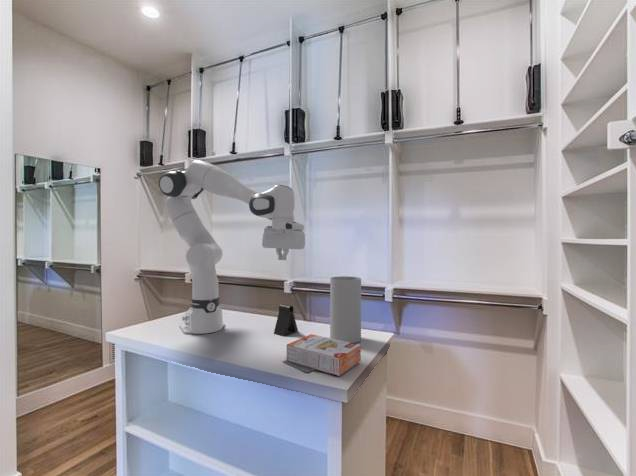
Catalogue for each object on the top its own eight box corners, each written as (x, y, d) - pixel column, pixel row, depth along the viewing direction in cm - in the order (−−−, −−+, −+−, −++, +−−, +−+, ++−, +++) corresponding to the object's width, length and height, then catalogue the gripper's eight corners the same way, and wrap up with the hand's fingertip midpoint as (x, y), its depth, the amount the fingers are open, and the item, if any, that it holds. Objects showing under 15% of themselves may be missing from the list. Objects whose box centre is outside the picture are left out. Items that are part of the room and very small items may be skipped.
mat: (283, 362, 108) (283, 361, 108) (318, 350, 119) (318, 349, 119) (306, 373, 99) (306, 372, 99) (342, 360, 110) (342, 358, 110)
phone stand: (283, 336, 136) (284, 307, 136) (273, 333, 139) (273, 306, 139) (298, 331, 143) (298, 304, 143) (288, 329, 146) (288, 302, 146)
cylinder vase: (349, 347, 123) (349, 281, 123) (323, 340, 131) (324, 278, 131) (366, 339, 132) (367, 278, 132) (342, 333, 140) (342, 275, 140)
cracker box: (310, 332, 119) (361, 344, 107) (310, 349, 119) (361, 362, 107) (285, 343, 107) (340, 357, 96) (285, 361, 107) (340, 377, 96)
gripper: (259, 225, 133) (258, 258, 133) (297, 225, 121) (296, 261, 121) (269, 226, 138) (269, 258, 138) (307, 225, 126) (306, 261, 126)
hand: (282, 260), depth 130 cm, fingers closed
